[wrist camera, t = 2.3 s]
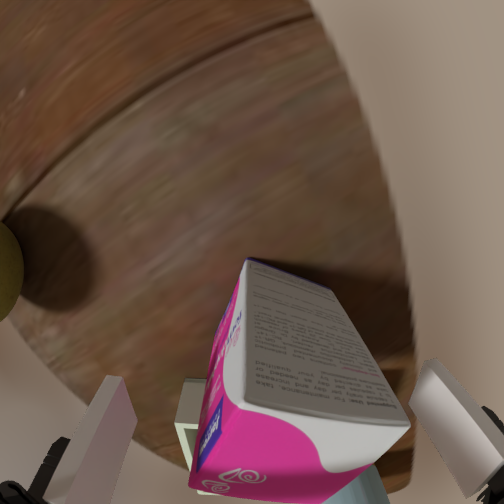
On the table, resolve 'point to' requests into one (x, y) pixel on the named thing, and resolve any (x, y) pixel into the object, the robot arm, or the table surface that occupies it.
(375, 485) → the bottle
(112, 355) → the table surface
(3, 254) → the apple
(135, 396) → the table surface
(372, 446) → the supplement box
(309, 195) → the table surface
